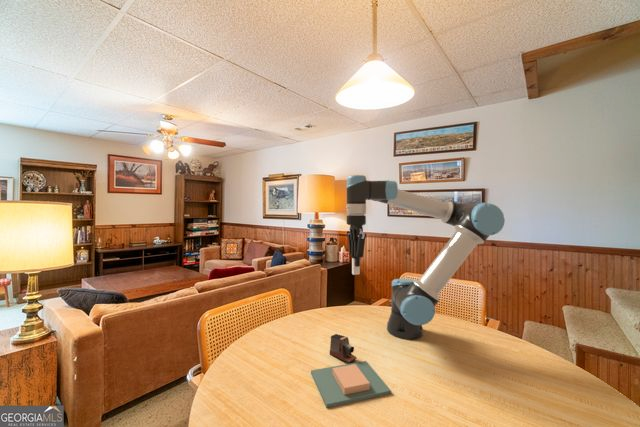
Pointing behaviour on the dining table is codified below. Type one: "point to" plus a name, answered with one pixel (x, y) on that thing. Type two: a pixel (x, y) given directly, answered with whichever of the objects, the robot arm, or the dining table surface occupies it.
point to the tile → (350, 379)
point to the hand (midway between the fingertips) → (355, 274)
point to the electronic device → (341, 348)
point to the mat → (333, 392)
